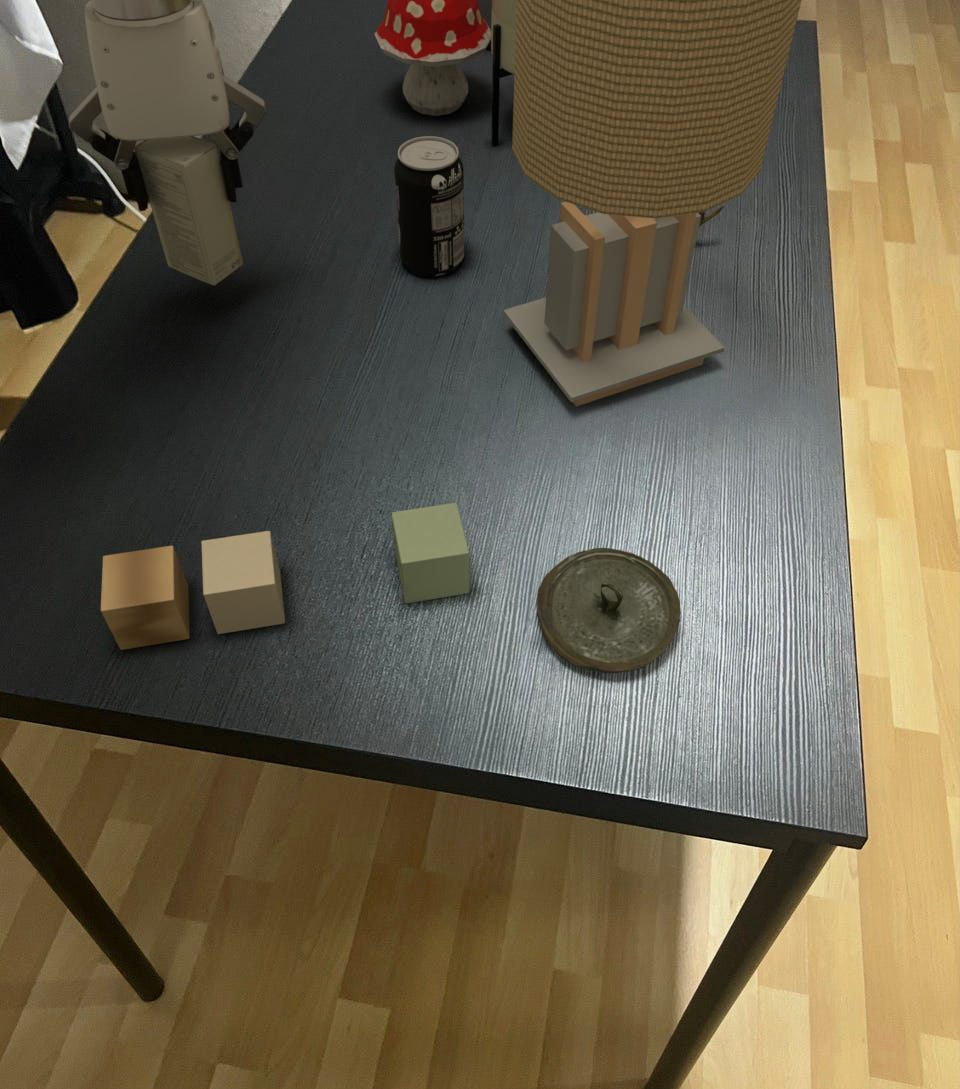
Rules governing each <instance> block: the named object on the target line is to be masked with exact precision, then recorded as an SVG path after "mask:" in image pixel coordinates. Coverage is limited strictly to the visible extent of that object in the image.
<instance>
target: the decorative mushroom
mask: <svg viewBox="0 0 960 1089" xmlns="http://www.w3.org/2000/svg"><path fill="white" fill-rule="evenodd" d="M374 36H375V39H376V41H377V43H378V45H379V48H380V50H381V52H382V54H384V55H386V56H388V57H390V58H392V59H394V60H395V61H398V62H400V63H403V64H407V65H409V66H408V70H407V71H406V74H405V75H404V78H403V81H402V82H403V83H402V93H403V96H404V98H405V100H406V101H407V103H408V105H409V106H410V108H412V110H414V111H416V112H417V113H420V114H422V115H427V116H433V117H434V116H435V117H438V116H443V115H444V116H445V115H450V114H452V113H453V112H456V111H457V110H459V109H460V108H461V106H462V105H463V103H464V102H465V100H466V98H467V96H468V94H469V83H468V80H467V77H466V75H465V74H464V71H463V69H462V67H461V65H460V64H464V63H466V62H468V61H469V60H472V59H474V58H477V57H478V56H480V55H483V54H484V53H485V52H486V50H487V49H488V48H487V46H488V44H489V42H490V40H491V30H490V28H489V27H488V25H487V23H486V22H485V20H484V19H483V18H482V14H481V11H480V7H479V4H478V1H477V0H387V2H386V7H385V12H384V16H383V20H382V21H381V23H380V25H379V26H378V28H377V29H376V31H375V32H374Z"/></svg>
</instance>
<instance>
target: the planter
mask: <svg viewBox="0 0 960 1089" xmlns="http://www.w3.org/2000/svg"><path fill="white" fill-rule="evenodd" d="M516 8H517V0H492V22H491V49H490V50H491V51H490V52H491V55H492V71H491V72H492V76H491V77H492V82H491V83H492V85H491V142H490V144H491V145H492V147H497V146H499V134H500V133H499V132H500V131H499V130H500V129H499V128H500V79H502V78H505V77H508V76H512V75H514V74H515V41H516Z"/></svg>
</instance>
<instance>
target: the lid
mask: <svg viewBox="0 0 960 1089" xmlns="http://www.w3.org/2000/svg"><path fill="white" fill-rule="evenodd" d="M535 602H536V604H535V608H536V617H537V621H538V624H539V625H540V628H541V631H542V632H543V636H544V637H545V639H546V640H547V642H548V643H549V645H550V646H551V648H552V649H553V651H555V652H556V655H558V656H559V657H560V658H561V659H563V660H565V661H566V662H568V663H569V664H571V665H573V666H575V667H577V668H581V669H584V670H587V671H594V672H598V673H601V674H622V673H627V672H633V671H638V670H641V669H644V668H646V667H647V666H648V665H651V664H653V662H655V660H657V659H658V658H659V657H661V656H662V655H663V654H664V653H665V652H666V651H667V649H668V647H670V645H671V643H673V641H674V639H675V636H676V633H677V632H678V629H679V625H680V623H681V614H682V611H681V601H680V597H679V593H678V591H677V589H676V588H675V585H674V584H673V581H672V580H671V578H670V577H669V575H668V574H666V573H665V572H664V571H663V570H662V569H661V568H659V567H658V566H656V565H655V564H654V563H653V562H651V561H650V560H648V559H646V558H644V557H642V556H641V555H637V554H635V553H633V552H629V551H626V550H625V551H624V550H621V549H615V548H609V547H594V548H590V549H587V550H582V551H578V552H576V553H573V554H570V555H568V556H567V557H565V558H564V559H563V560H561V561H559V563H556V565H555V566H554V567H553V568H552V569H550V570H549V571H548V572H547V573H546V575H544V577H543V579H542V581H541V582H540V585H539V587H538V589H537V596H536V601H535Z"/></svg>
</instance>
